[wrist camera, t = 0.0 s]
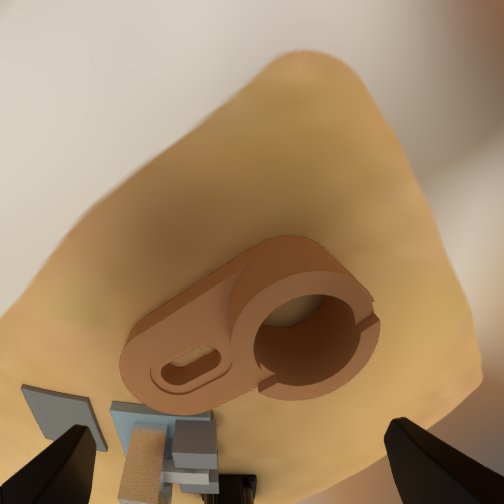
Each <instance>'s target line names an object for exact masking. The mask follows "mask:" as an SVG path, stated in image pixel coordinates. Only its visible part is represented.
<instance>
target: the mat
mask: <svg viewBox="0 0 504 504" xmlns="http://www.w3.org/2000/svg"><path fill="white" fill-rule="evenodd" d="M21 390H22V392H23V395H24V397H25V399H26V401H27V403H28V405H29V407H30V409H31V411H32V414H33V416H34V417H35V419H36V421H37V423H38V425H39V427H40V429H41V431H42V433H43V435H44V436H45V438H46V439H49V440H53V441H55V440H56V439H58V438H59V437H60V436H61V435H62V434H63V433H65V432H66V431H67V430H68V429H69V428H71V427H72V426H73V425H75V424H81V425H86V426H88V427H89V428H90V430H91V433H92V435H93V437H94V439H95V442H96V447H97V449H96V450H97V451H103V452H107V450H108V447H107V445H106V442H105V440H104V437H103V435H102V432H101V430H100V427H99V425H98V422H97V420H96V417H95V414H94V412H93V409H92V406H91V403H90V400H89V398H87V397H81V396H75V395H69V394H64V393H59V392H54V391H49V390H45V389H40V388H36V387H31V386H27V385H22V386H21Z"/></svg>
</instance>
